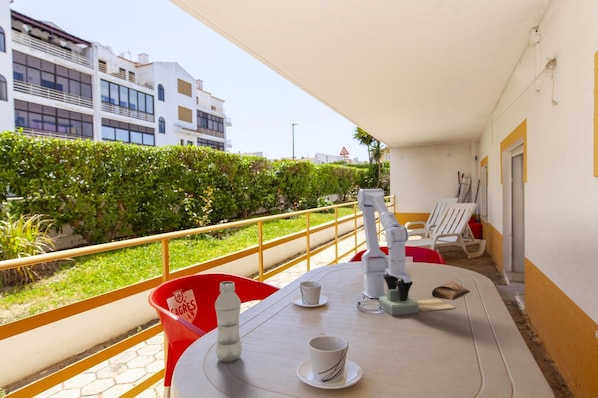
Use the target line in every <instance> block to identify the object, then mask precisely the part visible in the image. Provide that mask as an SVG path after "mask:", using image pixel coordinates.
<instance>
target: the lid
mask: <svg viewBox="0 0 598 398" xmlns="http://www.w3.org/2000/svg"><path fill="white" fill-rule="evenodd" d="M386 295H387V296H384V297H379V298H378V300H379V299H380V300H381V301H383V302H384V303H386V304H387V305H389V306H390V307H401V306H411V305H418V302H416V301H415V300H413V299H412V298H411V297H410V296H409V295H408V296H407V300H406V301H402V302H401V301H400V298H399V291H398V288H397V289H388V288H387V289H386Z"/></svg>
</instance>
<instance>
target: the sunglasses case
mask: <svg viewBox="0 0 598 398" xmlns="http://www.w3.org/2000/svg"><path fill="white" fill-rule="evenodd" d="M469 292H470V290H469V289H467V288H466V287H464V286H462V285H460V284H458V283H456V282H455V281H454V280H451V281H450V282H448V283H443V284H442V285H440V286H437V287H435V288H434V289H432V291H431V296H432V297H434V298H436V299H444V300H448V301H449V300H450V301H453V300H455V299H456V298H457V297H460V296H462V295H463V294H465V293H469Z"/></svg>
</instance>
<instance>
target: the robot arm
mask: <svg viewBox="0 0 598 398" xmlns="http://www.w3.org/2000/svg"><path fill="white" fill-rule="evenodd" d="M356 195H357V197H356V200H357V206H358V210H360V211H362V212H361V214H362V219H363V229H364V235H365V243H366V251H365V252H363V254H362V255H361V264H360V266H361V272H363V274H364V275H363V278H362V279H363V281H362V283H363V291H361V293H362V294H363V296H364V295H365V296H366V297H367V298H368V299H370V298H373V299H379V297H384V296H387V293H385V283H386V285H387V290H388V289H398V291H399V298H400V301H401V302H402V301H406V300H407V296H408V297H409V293H410V289H411V287H412V285H413V281H412V280H411V276H410V275H409V271H407V270H406V242H407V241H408V239H409V231H408V229H407V227H406V226H405V225H403V224H400V223H399V221H398V219H397V217H396V216H395V214H394V213H393V212H392V211H389V209H388V206H387V204H386V202H385V192H384V190H383V189H382V188H381V187H380V188H360V189H359V190H358V192H357V194H356ZM375 212H377V213H378V214H379V222H380V224H381V226H382V228H383V230H384V231H385V233H384V237H385V240H386V247H387V248H388V259H387V255H386V252H383V250H381V249H380V245H379V237H378V236H379V235H378V229H377V228H378V227H377V223H376V213H375Z"/></svg>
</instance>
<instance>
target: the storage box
mask: <svg viewBox="0 0 598 398" xmlns="http://www.w3.org/2000/svg"><path fill="white" fill-rule="evenodd" d="M379 305H380V306H382V307H383V308H384V309H385V311H384V312H385V313H387V314H388V315H389V316H391V317H397V316H407V315H417V314H419V310H418V305H411V306H401V307H390V306H389V305H387V304H386V303H384V302H383V301H381V300H380V299H379V298H378V306H379Z"/></svg>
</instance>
